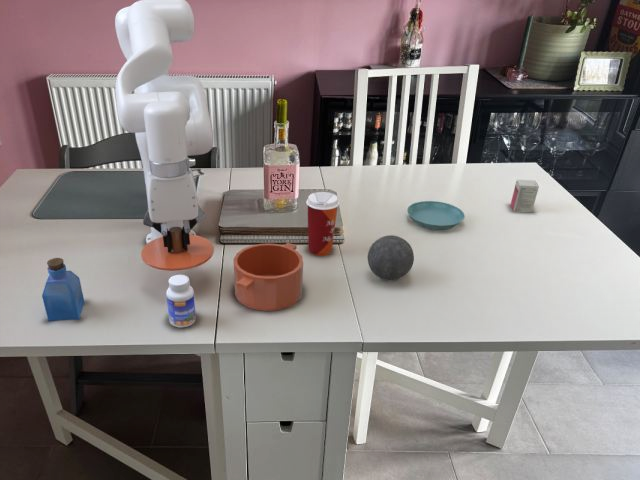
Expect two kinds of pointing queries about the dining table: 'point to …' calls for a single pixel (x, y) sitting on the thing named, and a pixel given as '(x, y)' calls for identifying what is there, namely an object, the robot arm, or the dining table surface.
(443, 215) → the saucer
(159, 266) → the lid
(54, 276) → the perfume bottle
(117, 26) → the robot arm
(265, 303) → the orange cooking pot
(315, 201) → the paper cup
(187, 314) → the pill bottle
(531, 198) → the small box
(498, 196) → the dining table surface
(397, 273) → the decorative ball
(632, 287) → the dining table surface
